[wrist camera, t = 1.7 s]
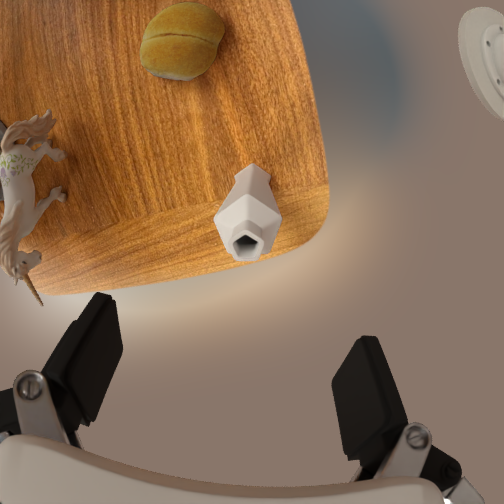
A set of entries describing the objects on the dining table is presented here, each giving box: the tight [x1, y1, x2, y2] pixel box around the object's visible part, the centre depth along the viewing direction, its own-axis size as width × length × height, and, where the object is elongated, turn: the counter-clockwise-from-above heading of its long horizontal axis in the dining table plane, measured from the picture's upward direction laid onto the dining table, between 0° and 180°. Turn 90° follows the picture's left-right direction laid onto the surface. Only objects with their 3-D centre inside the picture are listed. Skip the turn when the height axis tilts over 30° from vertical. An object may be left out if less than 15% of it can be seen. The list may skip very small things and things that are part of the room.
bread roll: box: [140, 2, 225, 81], centre depth 21 cm, size 8×9×4 cm
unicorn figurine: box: [0, 109, 68, 306], centre depth 24 cm, size 7×20×13 cm, turn 6°
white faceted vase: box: [214, 163, 282, 261], centre depth 23 cm, size 5×4×15 cm
